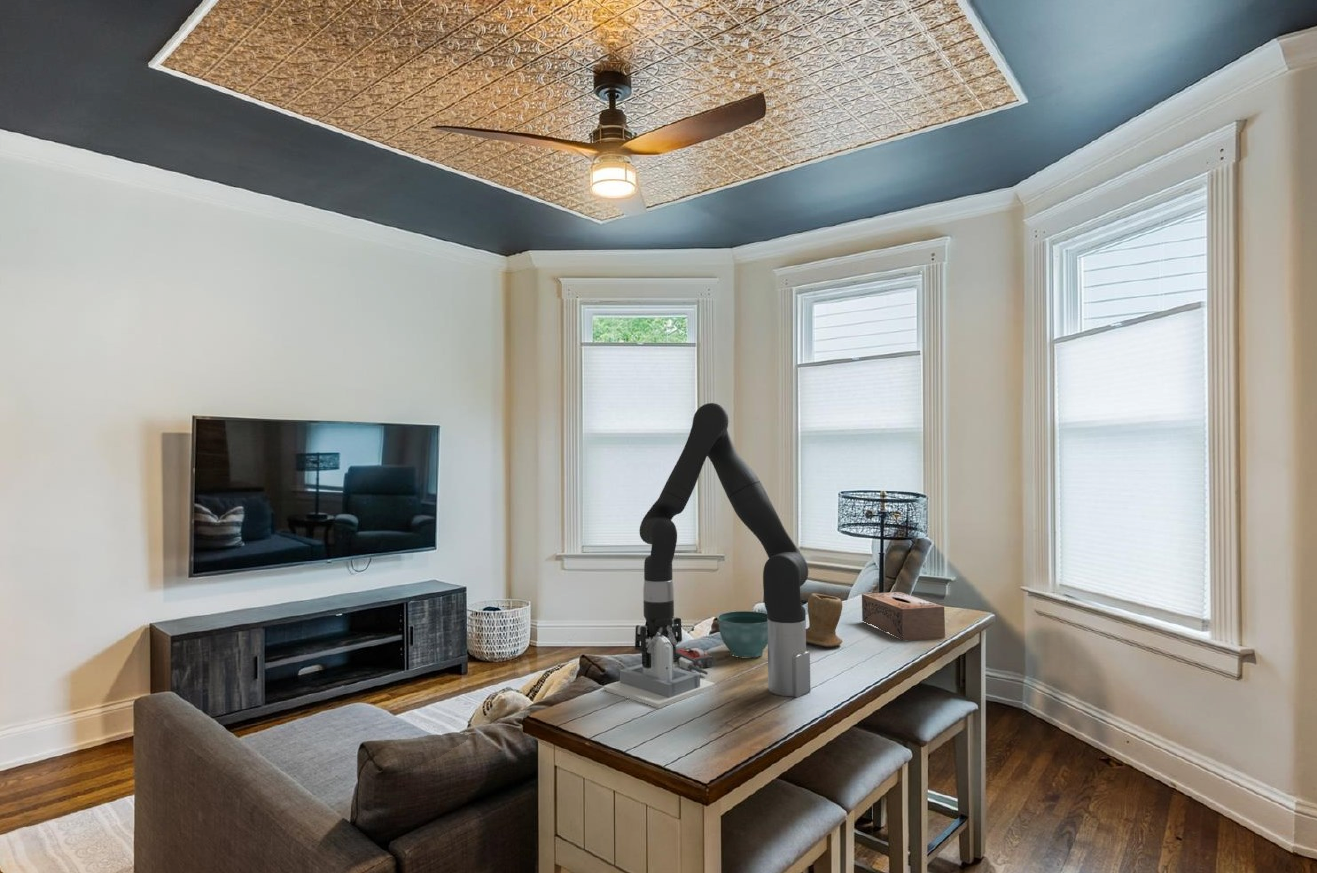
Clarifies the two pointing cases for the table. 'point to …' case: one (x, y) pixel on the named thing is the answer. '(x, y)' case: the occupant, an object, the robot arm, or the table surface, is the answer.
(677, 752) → the table surface
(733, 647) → the flower pot
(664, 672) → the photo printer
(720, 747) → the table surface
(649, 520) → the robot arm
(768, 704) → the table surface
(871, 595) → the tissue box cover
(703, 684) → the dock
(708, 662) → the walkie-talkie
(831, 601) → the tan flared cylinder
